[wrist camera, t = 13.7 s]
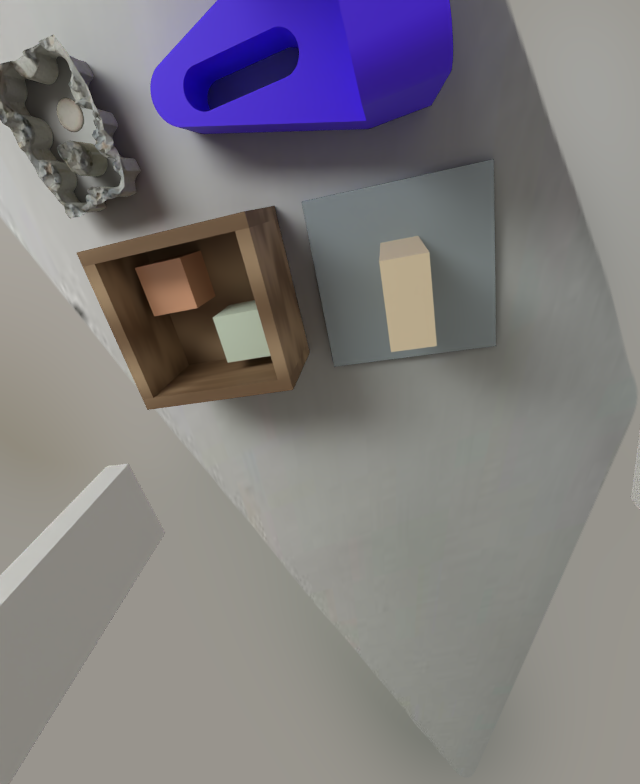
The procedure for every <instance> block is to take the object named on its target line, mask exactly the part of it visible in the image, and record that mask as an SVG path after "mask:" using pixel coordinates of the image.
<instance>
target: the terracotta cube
mask: <svg viewBox="0 0 640 784" xmlns="http://www.w3.org/2000/svg"><path fill="white" fill-rule="evenodd" d="M135 270H136V272H137V275H138V277H139V280H140V282H141V285H142V287H143V290H144V292H145V295H146V297H147V300H148V302H149V305H150V307H151V310H152V312H153V315H154V316H159V315H165V314H170V313H175V312H180V311H185V310H190V309H195V308H198V307H200V306H201V305H203V304H204V303H206V302H208V301H209V300H211V299H212V298H214V297H215V293H214V290H213V287H212V284H211V281H210V277H209V274H208V271H207V268H206V265H205V262H204V259H203V256H202V253H201V250H200V251H196V252H191V253H187V254H182V255H178V256H174V257H169V258H165V259H161V260H157V261H154V262H151V263H148V264H145V265H142V266H139V267H136V268H135Z"/></svg>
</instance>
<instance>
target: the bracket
mask: <svg viewBox="0 0 640 784" xmlns="http://www.w3.org/2000/svg"><path fill="white" fill-rule="evenodd" d="M290 47H295V48H298V49H299V59H298V63H297V66H296V68H295V70H294V71H293V72H292V73H291V74H290V75H289V76H287V77H285V78H283V79H281V80H279V81H276V82H274V83H272V84H269V85H267V86H265V87H262V88H260V89H258V90H256V91H253V92H251V93H249V94H246V95H244V96H242V97H240V98H237V99H235V100H233V101H230V102H228V103H226V104H223V105H221V106H219V107H217V108H214V109H212V110H210V107H209V104H208V91H209V89H210V87H211V85H212V84H213V83H214V82H215V81H216V80H219V79H221V78H223V77H225V76H227V75H229V74H232V73H234V72H236V71H238V70H240V69H243V68H245V67H247V66H249V65H251V64H254V63H256V62H258V61H260V60H262V59H265V58H267V57H269V56H271V55H273V54H276V53H278V52H280V51H282V50H284V49H287V48H290ZM452 63H453V33H452V19H451V9H450V1H449V0H217V1H216V2H215V4H214V5H213V6H212V7H211V8H210V9H209V10H208V11H207V12H206V13H205V15H204V16H203V17H202V18H201V19H200V20H199V21H198V22H197V23H196V24H195V25H194V27H193V28H192V29H191V30H190V31H189V32H188V33H187V34H186V35H185V36H184V38H183V39H182V40H181V41H180V42H179V43H178V44H177V45H176V46H175V47H174V48H173V50H172V51H171V52H170V53H169V54H168V55H167V56H166V57H165V58H164V59H163V60H162V62H161V63H160V64H159V65H158V66H157V67H156V69H155V71H154V73H153V75H152V79H151V97H152V101H153V104H154V106H155V108H156V110H157V112H158V113H159V115H160V116H161V117H162V118H163V119H164V120H165V121H166V122H167V123H169V124H171V125H173V126H176V127H180V128H183V129H187V130H190V131H194V132H197V133H201V134H220V133H253V132H286V131H319V130H352V129H370V128H373V127H375V126H378V125H381V124H383V123H386V122H388V121H391V120H394V119H396V118H399V117H402V116H404V115H407V114H410V113H412V112H415V111H417V110H420V109H423V108H425V107H428V106H431V105H432V103H433V102H434V100H435V98H436V96H437V95H438V93H439V91H440V90H441V88H442V86H443V84H444V83H445V81H446V79H447V78H448V76H449V74H450V72H451V69H452Z"/></svg>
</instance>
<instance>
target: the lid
mask: <svg viewBox="0 0 640 784" xmlns="http://www.w3.org/2000/svg"><path fill="white" fill-rule="evenodd" d="M302 206H303V211H304V216H305V221H306V227H307V232H308V237H309V242H310V247H311V252H312V257H313V262H314V267H315V272H316V277H317V282H318V287H319V292H320V297H321V302H322V307H323V312H324V317H325V322H326V327H327V332H328V337H329V343H330V348H331V353H332V358H333V363H334V367H336V366H344V365H351V364H359V363H367V362H375V361H382V360H390V359H398V358H405V357H413V356H421V355H429V354H436V353H444V352H452V351H460V350H467V349H475V348H483V347H491V346H496V297H495V216H494V159H492V160H487V161H483V162H478V163H474V164H469V165H465V166H460V167H456V168H451V169H447V170H442V171H438V172H433V173H429V174H424V175H420V176H415V177H411V178H406V179H402V180H397V181H393V182H388V183H384V184H379V185H375V186H370V187H366V188H361V189H357V190H352V191H348V192H343V193H339V194H334V195H330V196H325V197H321V198H316V199H312V200H307V201H303V202H302Z"/></svg>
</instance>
